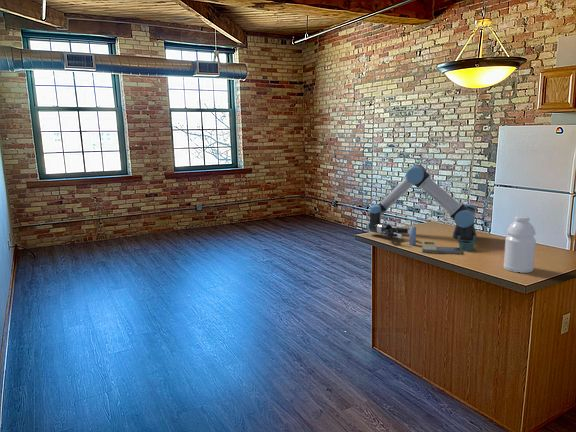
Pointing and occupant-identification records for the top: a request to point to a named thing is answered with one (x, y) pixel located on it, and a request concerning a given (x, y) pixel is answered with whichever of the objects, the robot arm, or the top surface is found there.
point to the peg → (412, 236)
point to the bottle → (520, 246)
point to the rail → (438, 248)
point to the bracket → (466, 244)
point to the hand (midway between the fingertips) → (408, 234)
